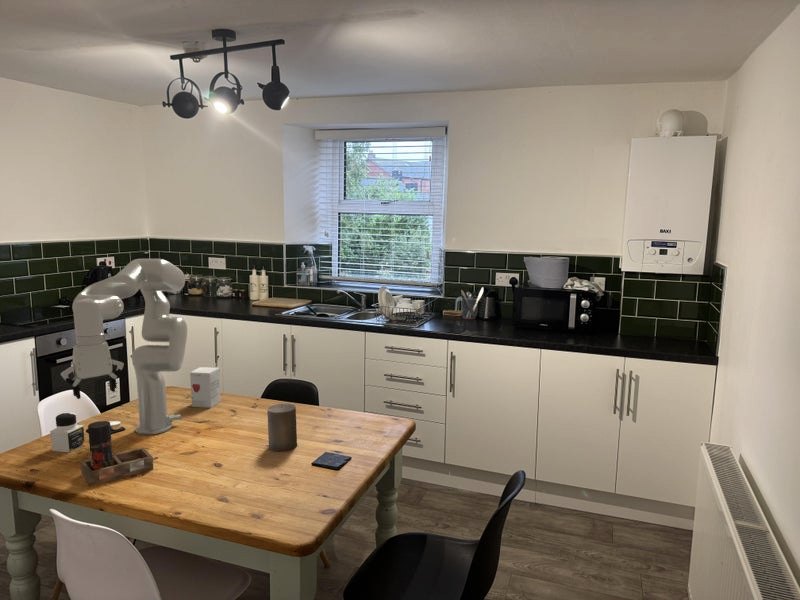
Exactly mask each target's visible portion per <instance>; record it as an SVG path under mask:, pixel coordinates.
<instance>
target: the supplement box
mask: <svg viewBox="0 0 800 600" xmlns="http://www.w3.org/2000/svg"><path fill="white" fill-rule="evenodd" d="M220 374H221V373H220V367H210V366H209V367H206V366H205V367H204V366H200V367H198V368H196V369H194V370H192V371H190V373H189V376H190V396H191V397H190V398H191V407H192V408H205V409H207V408H209V409H212V408H213V407H215V406H217V404H220V402H221V400H222V399H221V375H220Z"/></svg>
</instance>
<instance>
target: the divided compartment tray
mask: <svg viewBox="0 0 800 600" xmlns="http://www.w3.org/2000/svg"><path fill="white" fill-rule="evenodd" d="M112 454H113V466H110V467H106V468H102V469H98V470H94V471H92V469H91V459H88V460H85V461H84V460H83V461H80V467H81V468H80V469H81V476H82V475H83V476H82V477H83V479H84V480H85V482H86V483H87V485H88V486H89V487H92V486H96V485H99V484H102V482H103V483H107V482H111V481H114V479H115V480H118V479H122V478H126V477H129V476H133V475H136V474H137V475H138V474H141V473H145V472H148V471H152V470H154V459H153V456H152V455H151V453H150V452H148V451H147V449H145V447H143V446H142V447H138V448H135V449H134V448H133V449H131V450H126V451H122V452H118V453H112ZM110 480H111V481H110ZM106 481H107V482H106ZM95 484H96V485H95ZM91 485H92V486H91Z"/></svg>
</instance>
